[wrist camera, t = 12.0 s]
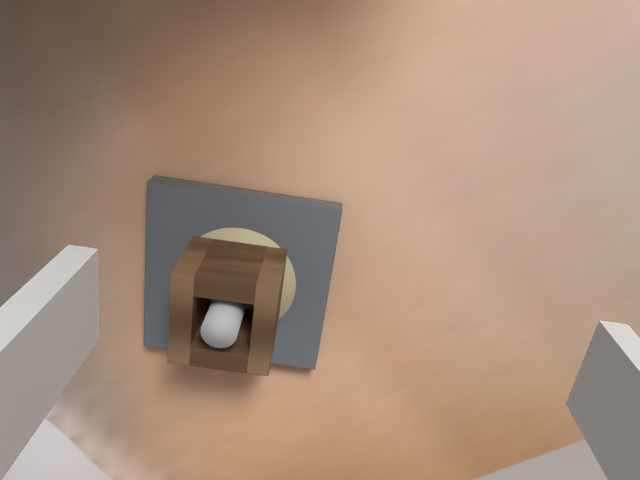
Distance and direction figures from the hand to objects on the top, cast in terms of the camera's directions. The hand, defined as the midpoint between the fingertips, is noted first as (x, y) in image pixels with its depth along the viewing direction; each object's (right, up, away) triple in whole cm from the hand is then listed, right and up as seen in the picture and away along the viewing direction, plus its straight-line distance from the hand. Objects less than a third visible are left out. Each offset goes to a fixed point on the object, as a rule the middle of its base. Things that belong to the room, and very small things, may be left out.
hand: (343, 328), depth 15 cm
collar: (-7, -1, +28) cm, 29 cm away
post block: (-7, 0, +29) cm, 30 cm away
